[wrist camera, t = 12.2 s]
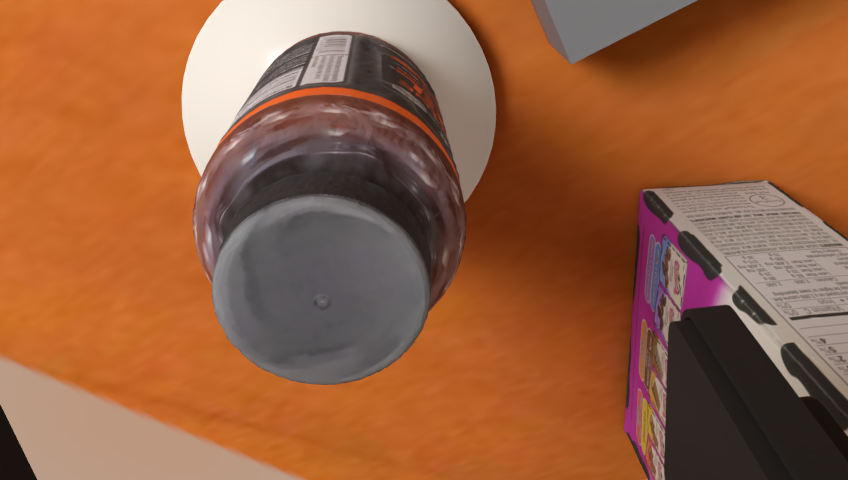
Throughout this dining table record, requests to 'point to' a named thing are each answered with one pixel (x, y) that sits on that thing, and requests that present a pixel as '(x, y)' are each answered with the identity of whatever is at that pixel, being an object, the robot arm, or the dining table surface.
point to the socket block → (597, 22)
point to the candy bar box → (736, 293)
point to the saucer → (340, 11)
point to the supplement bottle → (331, 211)
